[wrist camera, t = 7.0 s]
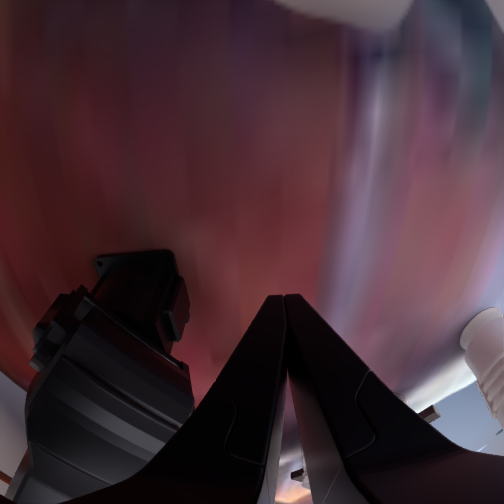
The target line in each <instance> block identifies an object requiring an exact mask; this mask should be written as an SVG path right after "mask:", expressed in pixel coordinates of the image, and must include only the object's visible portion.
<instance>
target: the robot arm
mask: <svg viewBox="0 0 504 504" xmlns="http://www.w3.org/2000/svg"><path fill="white" fill-rule="evenodd" d="M165 256H169V257H170V259H166V258H165ZM99 261H101V262H102V263H103V264H101V263H100V262H99ZM94 264H95V267H96V270H97V272H98V275H99V278H100V280H99V281H98V283H97V284H96V286H95V287H94V289H93V290H92V292H91V293H89V292H87V291H88V289H86V288H85V287H84V286H83V285H82V284H81V285H80V287H79V288H78V289H77V291H76V292H75V291H74V290H73V291H72V292H71V293H70V294H61V293H60V295H59V296H58V297H57V299H56V300H55V302H54V303H53V304H52V306H51V307H50V308H49V310H48V311H47V312H46V313H45V315H44V316H43V317H42V319H41V320H40V321H39V322H38V324H37V325H36V327H35V328H34V330H33V331H32V332H33V338H34V344H35V347H34V348H33V350H32V351H33V352H34V355H33V356H32V358H31V360H30V362H29V365H31V366H32V367H33V368H34V369H36V370H37V371H38V372H37V373H36V375H35V377H34V379H33V380H32V382H31V384H30V386H29V387H28V390H27V395H26V402H25V423H26V435H27V444H28V448H27V451H26V452H25V454H24V456H23V458H22V460H21V462H20V464H19V466H18V468H17V470H16V472H15V475H14V477H13V479H12V481H11V483H10V485H9V487H8V489H7V492H6V494H5V496H2V495H1V494H0V504H274V502H275V494H276V486H277V477H278V469H279V460H280V451H281V441H282V431H283V421H284V411H285V400H286V388H287V369H288V377H289V383H290V388H291V393H292V398H293V403H294V408H295V413H296V418H297V423H298V428H299V433H300V438H301V443H302V448H303V453H304V458H305V464H306V469H307V474H308V479H309V484H310V489H311V495H312V500H313V504H504V456H499V455H493V454H486V453H481V452H475V451H471V450H468V449H465V448H462V447H461V446H458V445H457V444H455V443H453V442H452V441H450V440H449V439H448V438H446V437H445V436H444V435H442V434H441V433H440V432H439V431H438V430H436V429H435V428H434V427H433V426H431V425H430V424H429V423H428V422H427V421H426V420H424V419H423V418H422V417H421V416H420V415H418V414H417V413H416V412H415V411H413V410H412V409H411V408H410V407H409V406H408V405H406V404H405V403H404V402H403V401H402V400H401V399H400V398H399V397H397V396H396V395H395V394H394V393H393V392H392V391H391V390H390V389H389V388H388V387H387V386H386V385H385V384H384V383H383V382H382V381H381V380H380V379H379V378H378V377H377V375H376V374H375V373H374V372H373V371H370V368H369V367H368V366H367V365H366V364H365V363H364V362H363V361H362V360H361V358H360V357H359V356H358V355H357V354H356V353H355V352H354V351H353V350H352V349H351V348H350V347H349V346H348V345H347V343H346V342H345V341H344V340H343V339H342V338H341V337H340V336H339V335H338V334H337V333H336V332H335V331H334V330H333V328H332V327H331V326H330V325H329V324H328V323H327V322H326V321H325V320H324V319H323V318H322V317H321V316H320V315H319V314H318V312H317V311H316V310H315V309H314V308H313V307H312V306H311V305H310V304H309V303H308V302H307V301H306V300H305V299H304V298H303V296H302V295H300V294H286V295H285V296H283V295H269V296H267V298H266V300H265V301H264V303H263V304H262V306H261V308H260V309H259V311H258V313H257V314H256V316H255V318H254V319H253V321H252V323H251V324H250V326H249V327H248V329H247V331H246V332H245V334H244V336H243V337H242V339H241V340H240V342H239V344H238V345H237V347H236V348H235V350H234V352H233V353H232V355H231V356H230V358H229V360H228V361H227V363H226V364H225V366H224V368H223V369H222V371H221V372H220V374H219V375H218V377H217V379H216V381H215V382H214V383H213V385H212V386H211V388H210V389H209V391H208V392H207V394H206V395H205V397H204V398H203V400H202V401H201V402H200V404H199V405H198V407H197V408H196V409H195V407H194V403H195V400H194V396H193V393H192V386H191V380H190V373H189V366H188V365H187V364H185V363H184V362H182V361H181V362H180V361H178V360H177V359H175V358H174V357H172V356H171V355H170V354H171V350H172V346H173V343H174V342H179V341H180V340H181V338H182V334H183V330H184V326H185V323H187V322H188V321H189V318H190V315H189V312H188V311H189V307H190V302H189V298H188V294H187V290H186V286H185V282H184V279H183V278H182V277H181V276H179V272H178V268H177V264H176V260H175V255H174V253H173V252H172V251H170V250H158V251H146V252H134V253H122V254H111V255H100V256H98V257H97V258H96V259H95V261H94Z"/></svg>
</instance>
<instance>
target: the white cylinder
mask: <svg viewBox="0 0 504 504" xmlns="http://www.w3.org/2000/svg"><path fill="white" fill-rule="evenodd" d="M460 345H461V347H462V348H463V349H465V350H466V352H465V362H466V363H467V365H468V366H469V368H470V369H471V371H472V372H473V374H474V375H475V377H476V378H477V381H476V385H477V387H478V389H479V391H480V393H481V395H482V397H483V399H484V401H485V403H486V404H487V407H488V409H489V411H490V413H491V415H492V417H493V418H495V419H496V418H498V420H499V422H500V424H501V426H502V429H503V431H504V317H503V315H502V312H501V310H500V309H499V308H495V307H494V308H489V309H486V310H484V311H482V312H481V313H479V314H478V315H476V316H475V317H474V318H473V319H472V320H471V321H470V322H469V323H468V324H467V326H466V327H465V329H464V330H463V332H462V334H461V338H460Z"/></svg>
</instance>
